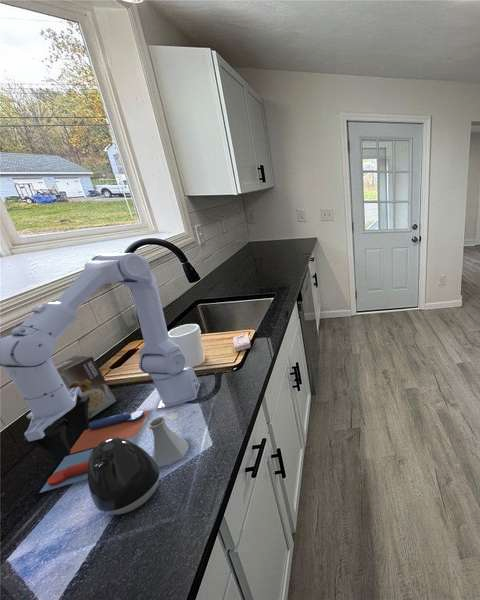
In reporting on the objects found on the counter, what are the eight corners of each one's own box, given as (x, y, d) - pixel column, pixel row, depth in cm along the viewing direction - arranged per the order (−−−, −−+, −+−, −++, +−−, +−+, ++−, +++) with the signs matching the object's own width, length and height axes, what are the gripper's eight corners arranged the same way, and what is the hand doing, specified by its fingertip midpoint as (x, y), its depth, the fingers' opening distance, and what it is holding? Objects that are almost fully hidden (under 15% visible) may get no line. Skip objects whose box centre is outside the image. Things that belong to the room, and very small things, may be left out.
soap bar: (235, 352, 115) (233, 346, 114) (234, 342, 123) (232, 336, 122) (251, 348, 117) (249, 342, 117) (249, 338, 125) (247, 332, 124)
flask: (149, 473, 69) (132, 439, 65) (156, 449, 75) (140, 417, 71) (187, 459, 72) (173, 425, 68) (190, 437, 78) (177, 406, 74)
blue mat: (136, 438, 79) (135, 436, 79) (120, 469, 70) (119, 468, 70) (66, 457, 75) (65, 456, 74) (39, 494, 66) (38, 492, 66)
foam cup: (199, 369, 106) (187, 336, 101) (173, 371, 107) (159, 337, 102) (215, 354, 115) (204, 323, 110) (190, 355, 115) (179, 324, 110)
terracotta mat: (149, 411, 88) (149, 410, 88) (137, 436, 80) (136, 435, 79) (88, 427, 84) (87, 426, 84) (67, 456, 75) (66, 454, 75)
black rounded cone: (93, 535, 57) (53, 476, 52) (114, 487, 66) (82, 433, 61) (158, 510, 61) (128, 453, 55) (170, 468, 70) (145, 415, 64)
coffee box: (100, 399, 94) (76, 354, 88) (117, 401, 93) (94, 355, 87) (65, 422, 86) (35, 373, 80) (83, 424, 85) (54, 375, 79)
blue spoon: (86, 434, 81) (83, 428, 80) (93, 425, 84) (89, 418, 83) (141, 420, 85) (138, 413, 84) (146, 411, 88) (143, 405, 87)
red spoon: (119, 456, 74) (115, 449, 73) (113, 468, 70) (109, 461, 70) (55, 474, 70) (50, 467, 69) (45, 488, 67) (39, 481, 66)
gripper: (41, 376, 68) (69, 425, 72) (-12, 420, 55) (26, 476, 60) (82, 367, 70) (106, 416, 75) (40, 408, 57) (73, 463, 62)
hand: (73, 442), depth 67 cm, fingers open, 7 cm apart
